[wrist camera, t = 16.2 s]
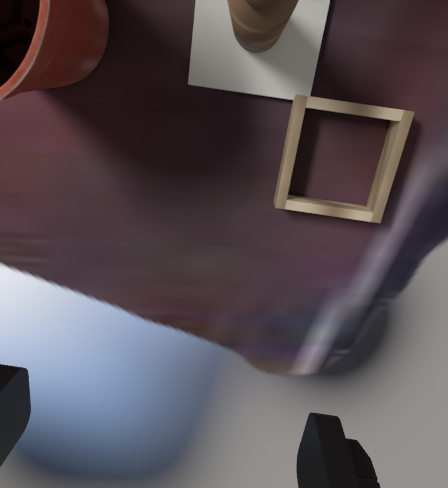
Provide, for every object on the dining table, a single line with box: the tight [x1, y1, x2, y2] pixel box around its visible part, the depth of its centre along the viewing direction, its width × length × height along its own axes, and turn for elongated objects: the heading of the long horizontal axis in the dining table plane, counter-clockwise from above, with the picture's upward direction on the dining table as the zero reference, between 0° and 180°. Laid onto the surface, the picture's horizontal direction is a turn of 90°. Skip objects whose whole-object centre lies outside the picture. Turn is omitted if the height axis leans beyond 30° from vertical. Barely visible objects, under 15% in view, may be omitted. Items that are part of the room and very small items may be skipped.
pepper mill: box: [227, 0, 299, 53], centre depth 27 cm, size 5×5×15 cm
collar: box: [274, 94, 414, 223], centre depth 38 cm, size 11×11×2 cm
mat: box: [188, 0, 330, 100], centre depth 35 cm, size 12×12×1 cm
